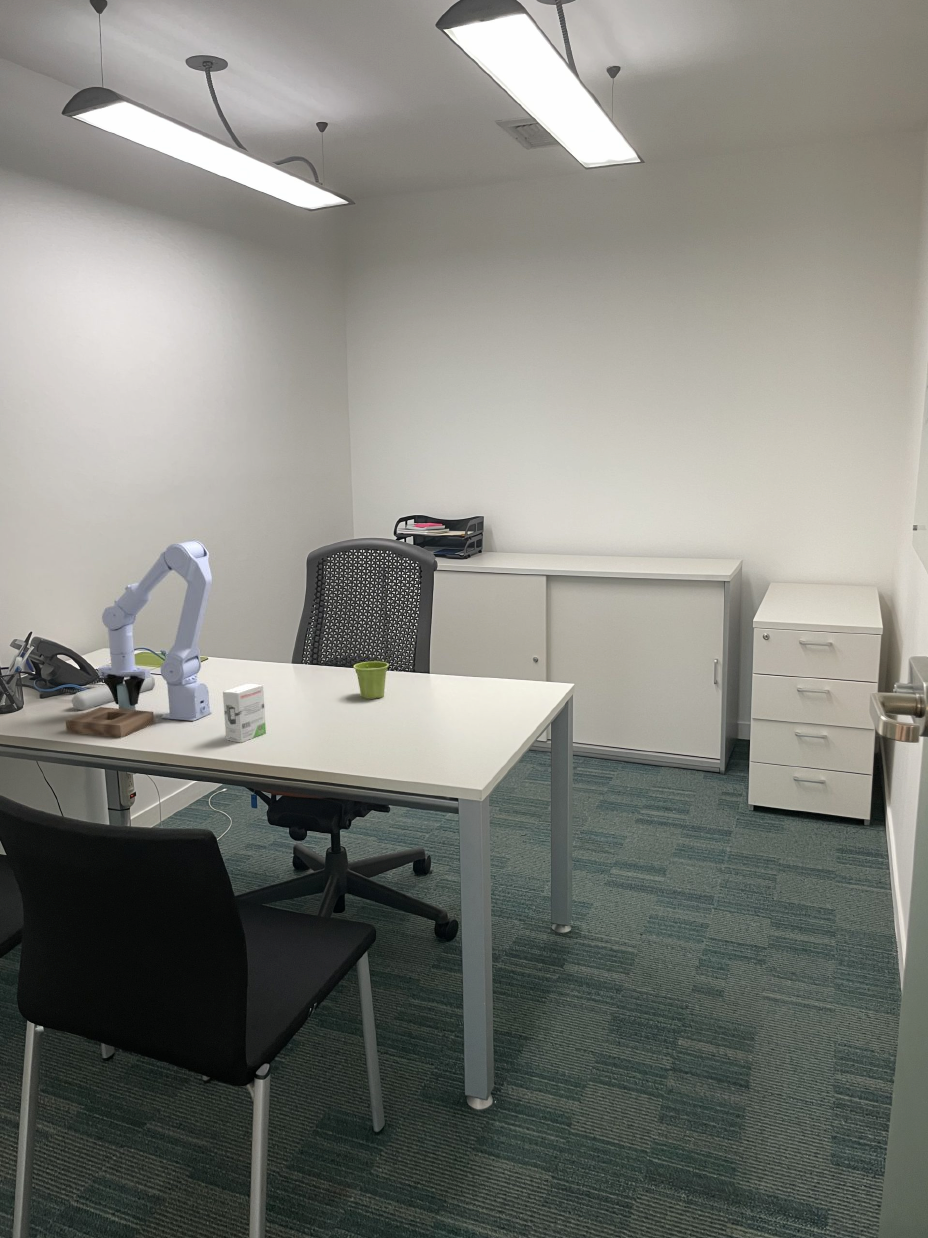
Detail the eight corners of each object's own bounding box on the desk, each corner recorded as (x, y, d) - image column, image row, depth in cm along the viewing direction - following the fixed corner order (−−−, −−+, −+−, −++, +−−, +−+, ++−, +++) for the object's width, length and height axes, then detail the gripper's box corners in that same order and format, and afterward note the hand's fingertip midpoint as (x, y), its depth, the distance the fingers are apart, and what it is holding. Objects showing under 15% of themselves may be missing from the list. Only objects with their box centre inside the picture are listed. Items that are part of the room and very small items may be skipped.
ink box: (251, 730, 219) (248, 682, 217) (267, 733, 217) (264, 684, 214) (225, 740, 212) (221, 690, 210) (240, 743, 209) (237, 693, 207)
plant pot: (349, 700, 244) (348, 668, 243) (361, 691, 253) (360, 660, 252) (383, 702, 242) (382, 669, 241) (394, 693, 251) (393, 661, 250)
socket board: (154, 723, 226) (153, 711, 226) (121, 737, 215) (120, 725, 215) (101, 718, 232) (100, 707, 231) (66, 732, 220) (65, 720, 220)
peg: (139, 709, 237) (136, 683, 236) (128, 714, 233) (126, 687, 232) (126, 708, 239) (123, 682, 237) (115, 713, 235) (113, 686, 234)
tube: (83, 698, 237) (156, 676, 258) (68, 690, 239) (143, 668, 260) (80, 716, 238) (153, 693, 260) (66, 708, 241) (140, 685, 262)
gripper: (156, 650, 235) (160, 702, 237) (109, 647, 239) (114, 698, 242) (137, 656, 228) (142, 709, 230) (90, 653, 233) (95, 705, 235)
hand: (126, 704), depth 236 cm, fingers closed on peg, 4 cm apart
